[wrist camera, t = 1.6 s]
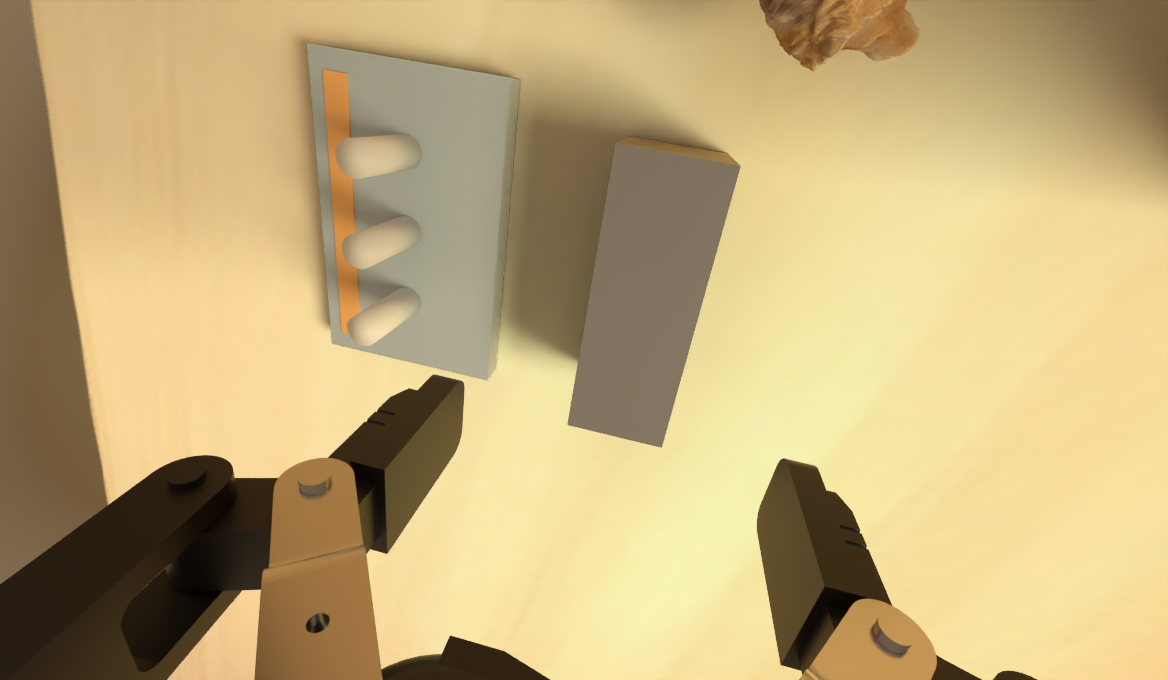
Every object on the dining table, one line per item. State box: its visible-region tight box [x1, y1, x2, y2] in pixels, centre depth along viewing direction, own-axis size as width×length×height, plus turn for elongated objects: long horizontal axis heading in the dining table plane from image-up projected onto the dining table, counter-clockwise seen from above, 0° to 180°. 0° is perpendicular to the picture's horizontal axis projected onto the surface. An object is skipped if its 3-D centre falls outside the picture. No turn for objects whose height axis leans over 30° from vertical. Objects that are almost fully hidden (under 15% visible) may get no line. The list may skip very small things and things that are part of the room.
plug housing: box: [568, 136, 740, 448], centre depth 23 cm, size 5×13×6 cm, turn 171°
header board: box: [307, 43, 520, 380], centre depth 25 cm, size 10×16×6 cm, turn 171°
